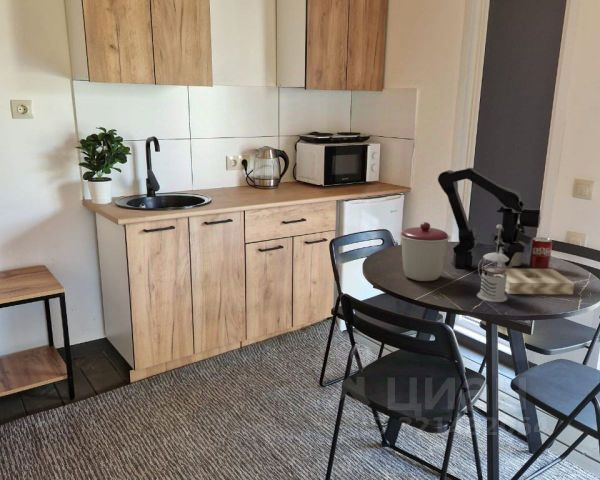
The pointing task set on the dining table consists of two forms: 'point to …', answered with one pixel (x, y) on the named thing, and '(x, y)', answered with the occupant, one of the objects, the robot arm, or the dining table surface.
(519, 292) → the hole block
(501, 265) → the steel peg
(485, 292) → the french press
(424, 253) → the canister
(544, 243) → the soda can
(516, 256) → the travel mug
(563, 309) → the dining table surface
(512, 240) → the robot arm
